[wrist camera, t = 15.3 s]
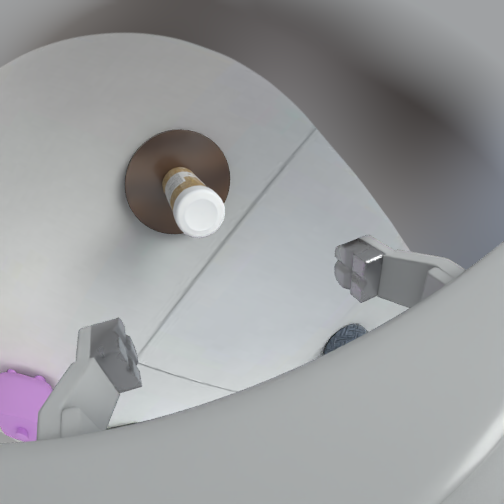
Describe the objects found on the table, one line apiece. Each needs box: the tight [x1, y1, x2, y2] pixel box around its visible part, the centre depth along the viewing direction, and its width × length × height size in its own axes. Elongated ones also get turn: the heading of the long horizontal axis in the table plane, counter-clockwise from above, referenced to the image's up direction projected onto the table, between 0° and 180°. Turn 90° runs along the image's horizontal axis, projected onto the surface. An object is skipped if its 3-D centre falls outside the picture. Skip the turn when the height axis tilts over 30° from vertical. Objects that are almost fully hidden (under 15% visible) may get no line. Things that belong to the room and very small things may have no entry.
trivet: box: [125, 130, 230, 234], centre depth 37 cm, size 14×14×2 cm
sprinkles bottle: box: [162, 167, 225, 238], centre depth 31 cm, size 5×5×14 cm
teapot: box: [0, 369, 53, 442], centre depth 35 cm, size 20×12×13 cm, turn 68°
